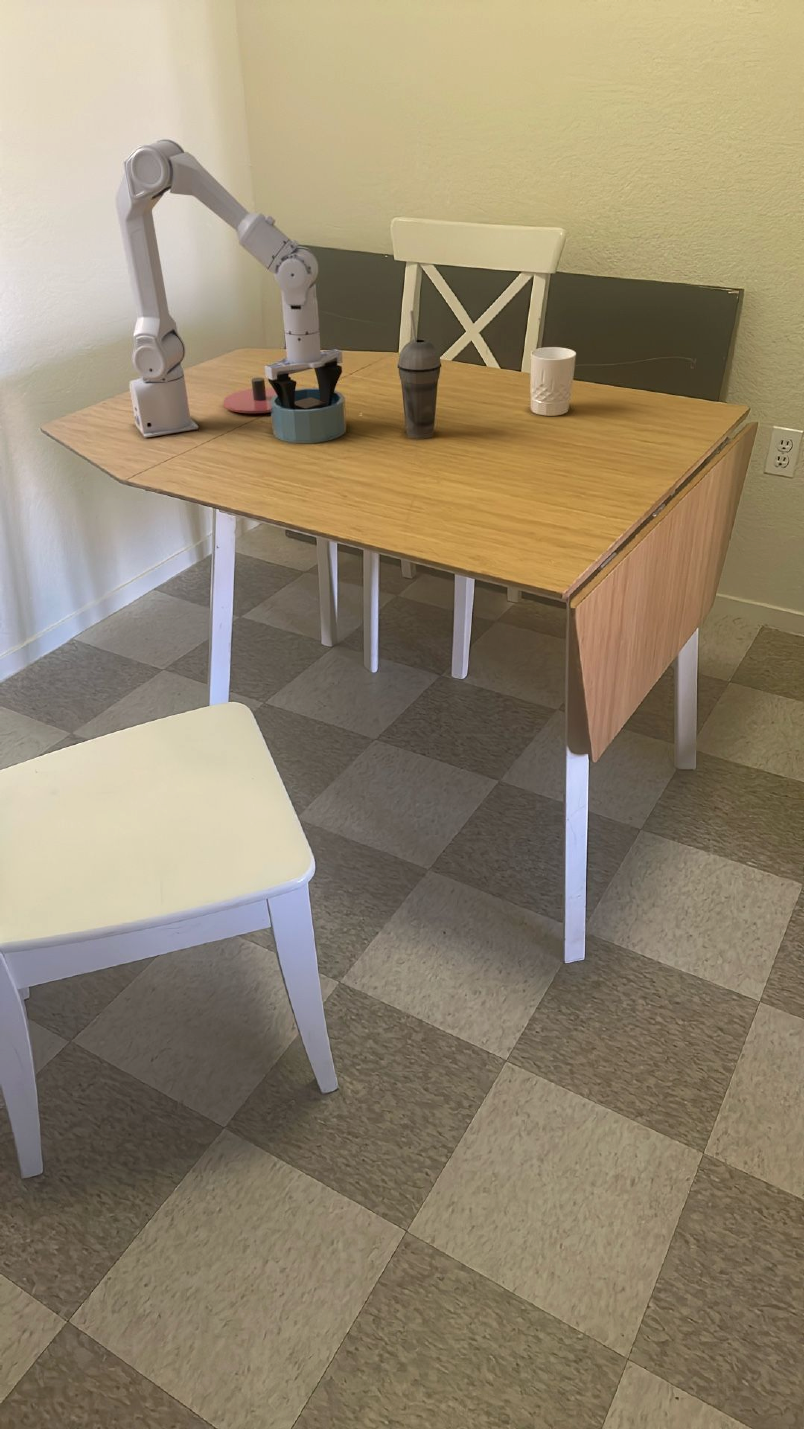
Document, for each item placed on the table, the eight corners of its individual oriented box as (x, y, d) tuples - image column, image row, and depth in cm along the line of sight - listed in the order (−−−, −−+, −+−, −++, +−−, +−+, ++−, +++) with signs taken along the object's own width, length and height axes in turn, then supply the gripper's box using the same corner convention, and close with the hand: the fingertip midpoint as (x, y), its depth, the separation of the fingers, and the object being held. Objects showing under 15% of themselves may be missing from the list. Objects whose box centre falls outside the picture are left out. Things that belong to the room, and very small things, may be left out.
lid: (249, 421, 174) (246, 395, 171) (210, 404, 182) (206, 379, 180) (311, 404, 181) (309, 379, 178) (270, 389, 190) (267, 364, 187)
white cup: (570, 403, 178) (575, 347, 172) (572, 417, 172) (577, 359, 166) (527, 403, 179) (530, 346, 173) (527, 417, 172) (530, 359, 167)
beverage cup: (437, 442, 163) (437, 317, 151) (395, 440, 164) (391, 316, 153) (444, 428, 169) (445, 306, 157) (403, 426, 170) (401, 305, 159)
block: (307, 434, 166) (304, 408, 164) (292, 427, 169) (289, 402, 167) (327, 428, 169) (325, 402, 166) (312, 422, 172) (310, 397, 169)
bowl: (301, 449, 162) (298, 416, 159) (259, 430, 170) (256, 399, 167) (360, 431, 169) (359, 399, 165) (317, 414, 177) (315, 383, 173)
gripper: (279, 343, 153) (286, 428, 161) (351, 327, 161) (355, 409, 169) (254, 335, 158) (263, 418, 166) (326, 319, 165) (331, 399, 173)
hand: (308, 413), depth 168 cm, fingers open, 7 cm apart
